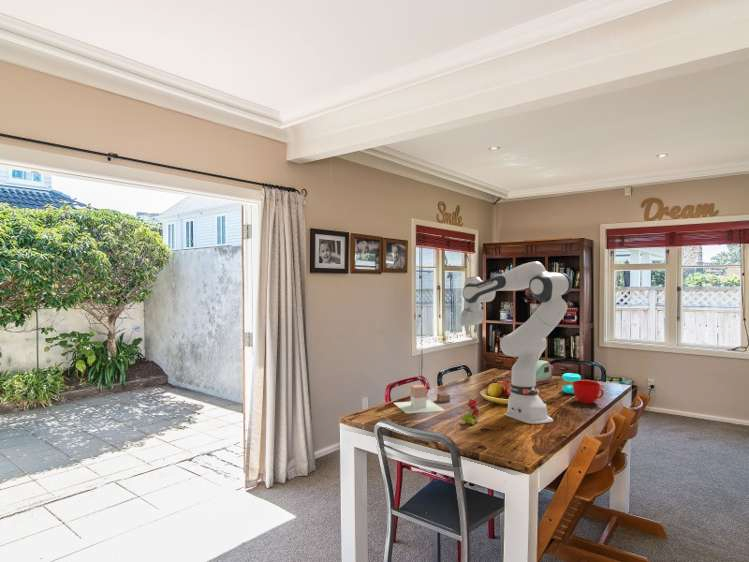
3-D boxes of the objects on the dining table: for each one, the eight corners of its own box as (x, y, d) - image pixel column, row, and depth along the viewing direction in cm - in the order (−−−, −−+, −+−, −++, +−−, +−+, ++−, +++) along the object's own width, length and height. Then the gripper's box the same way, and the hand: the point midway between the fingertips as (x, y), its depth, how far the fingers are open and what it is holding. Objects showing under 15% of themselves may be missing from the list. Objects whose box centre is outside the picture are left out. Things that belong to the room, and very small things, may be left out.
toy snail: (534, 386, 288) (534, 363, 288) (523, 384, 294) (523, 361, 294) (557, 381, 303) (557, 359, 303) (547, 379, 309) (547, 357, 309)
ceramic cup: (593, 408, 240) (593, 388, 240) (567, 400, 255) (567, 381, 255) (612, 405, 245) (612, 386, 245) (585, 398, 260) (585, 379, 260)
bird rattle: (469, 424, 219) (458, 420, 214) (475, 401, 222) (464, 396, 217) (480, 428, 215) (469, 424, 209) (487, 403, 217) (476, 399, 212)
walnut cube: (449, 404, 247) (449, 394, 247) (440, 405, 245) (440, 395, 245) (445, 402, 251) (445, 392, 251) (436, 402, 250) (437, 393, 250)
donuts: (558, 374, 275) (567, 372, 281) (558, 391, 275) (567, 389, 281) (575, 377, 267) (584, 374, 273) (575, 395, 267) (584, 392, 274)
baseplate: (445, 412, 231) (445, 410, 231) (406, 415, 226) (406, 413, 226) (429, 402, 251) (429, 400, 251) (393, 405, 245) (393, 402, 245)
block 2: (426, 407, 236) (426, 397, 236) (415, 408, 235) (415, 398, 235) (421, 404, 242) (422, 394, 242) (410, 405, 240) (410, 395, 240)
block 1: (426, 397, 236) (426, 387, 236) (415, 398, 235) (415, 388, 234) (422, 394, 242) (422, 384, 242) (410, 395, 240) (410, 385, 240)
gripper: (468, 308, 244) (468, 335, 244) (485, 306, 260) (485, 332, 261) (457, 308, 248) (457, 334, 248) (474, 306, 264) (474, 331, 264)
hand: (471, 333), depth 254 cm, fingers open, 8 cm apart
